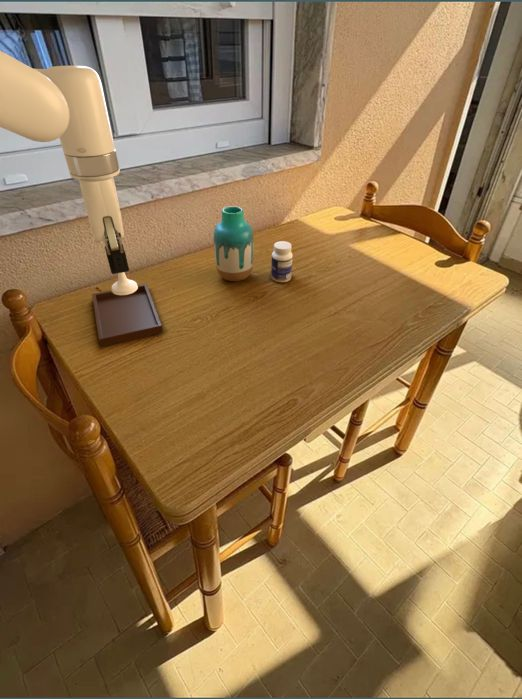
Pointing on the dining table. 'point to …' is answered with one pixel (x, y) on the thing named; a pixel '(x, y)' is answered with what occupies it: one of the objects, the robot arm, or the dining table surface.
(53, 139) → the robot arm
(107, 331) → the tray
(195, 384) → the dining table surface
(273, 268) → the pill bottle
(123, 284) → the chess piece
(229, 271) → the vase
